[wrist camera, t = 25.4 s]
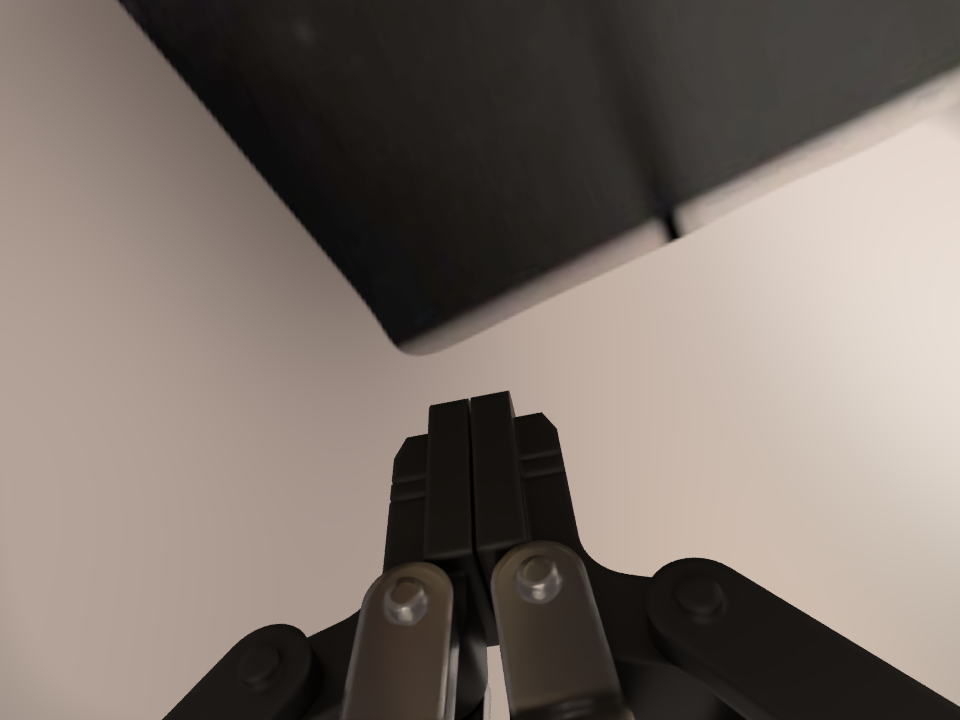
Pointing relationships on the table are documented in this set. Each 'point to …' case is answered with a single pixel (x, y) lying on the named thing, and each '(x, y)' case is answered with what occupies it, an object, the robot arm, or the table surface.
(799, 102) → the table surface
